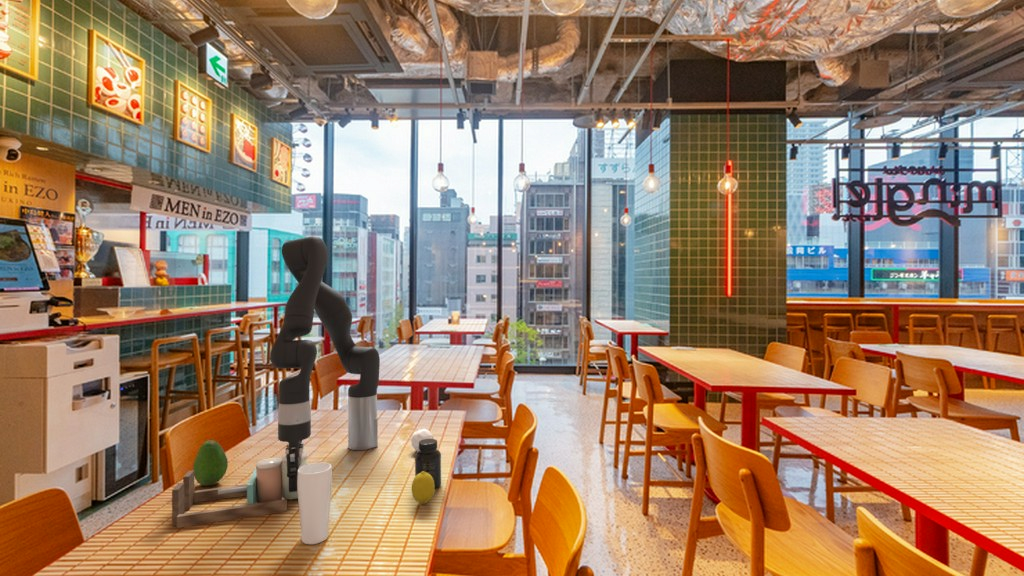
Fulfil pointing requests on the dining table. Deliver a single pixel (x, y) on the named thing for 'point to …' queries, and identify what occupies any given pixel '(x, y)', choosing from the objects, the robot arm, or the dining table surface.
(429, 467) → the supplement bottle
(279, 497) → the jar
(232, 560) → the dining table surface
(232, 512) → the lane
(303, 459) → the sage jar
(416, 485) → the lemon
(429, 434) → the ornament
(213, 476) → the fruit
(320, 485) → the drinking glass
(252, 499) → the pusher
